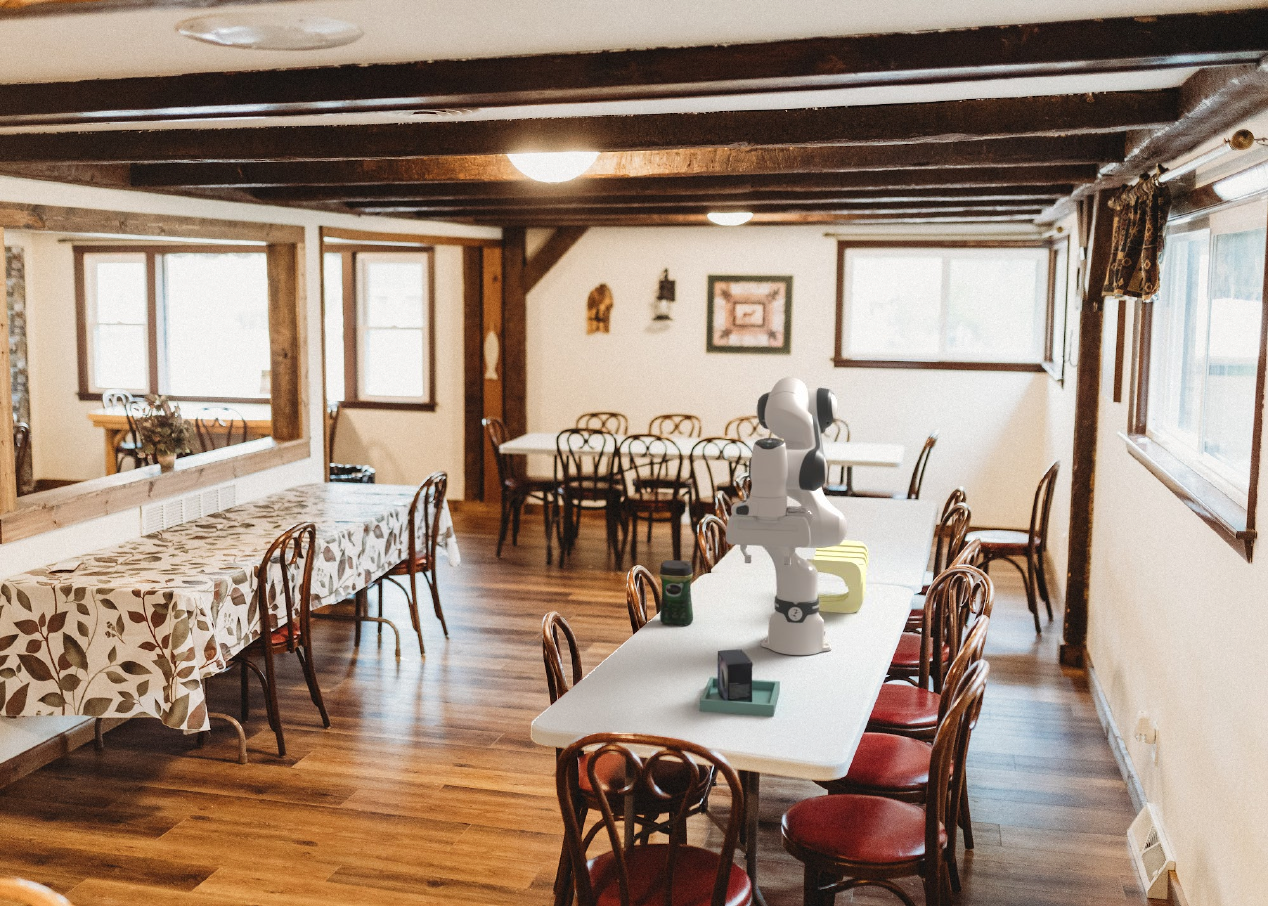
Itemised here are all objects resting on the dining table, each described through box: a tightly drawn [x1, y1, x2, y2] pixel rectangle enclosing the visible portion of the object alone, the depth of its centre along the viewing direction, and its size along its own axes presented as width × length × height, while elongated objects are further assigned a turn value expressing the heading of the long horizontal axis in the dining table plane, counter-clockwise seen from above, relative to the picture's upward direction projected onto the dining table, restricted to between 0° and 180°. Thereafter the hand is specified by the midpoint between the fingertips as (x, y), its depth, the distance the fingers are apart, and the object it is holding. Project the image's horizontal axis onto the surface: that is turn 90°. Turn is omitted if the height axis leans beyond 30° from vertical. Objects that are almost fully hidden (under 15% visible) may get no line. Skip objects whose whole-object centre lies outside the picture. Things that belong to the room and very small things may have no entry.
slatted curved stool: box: [806, 539, 869, 614], centre depth 359 cm, size 30×16×18 cm, turn 165°
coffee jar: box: [659, 559, 694, 627], centre depth 341 cm, size 10×8×19 cm
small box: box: [717, 648, 754, 702], centre depth 275 cm, size 11×6×10 cm, turn 9°
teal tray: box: [699, 676, 781, 717], centre depth 276 cm, size 17×17×3 cm
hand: (767, 563), depth 280 cm, fingers open, 8 cm apart
